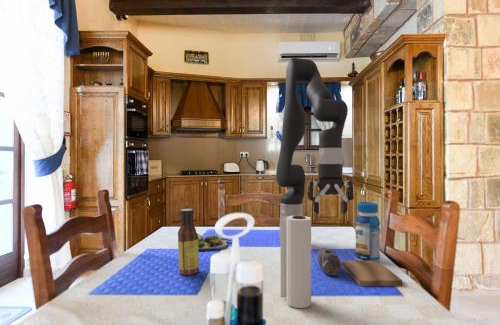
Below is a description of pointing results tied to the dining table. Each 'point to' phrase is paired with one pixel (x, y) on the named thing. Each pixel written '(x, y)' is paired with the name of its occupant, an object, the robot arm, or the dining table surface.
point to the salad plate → (211, 242)
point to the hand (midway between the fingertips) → (330, 213)
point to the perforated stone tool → (329, 262)
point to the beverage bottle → (367, 232)
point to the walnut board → (371, 273)
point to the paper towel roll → (296, 260)
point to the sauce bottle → (188, 244)
